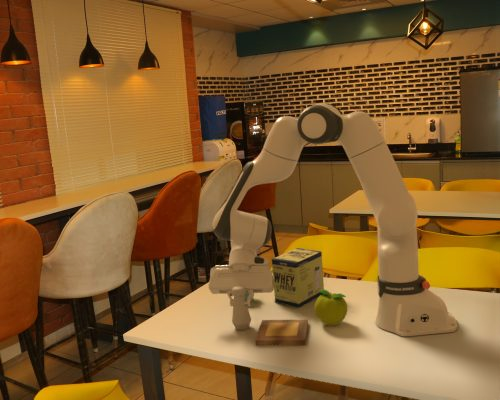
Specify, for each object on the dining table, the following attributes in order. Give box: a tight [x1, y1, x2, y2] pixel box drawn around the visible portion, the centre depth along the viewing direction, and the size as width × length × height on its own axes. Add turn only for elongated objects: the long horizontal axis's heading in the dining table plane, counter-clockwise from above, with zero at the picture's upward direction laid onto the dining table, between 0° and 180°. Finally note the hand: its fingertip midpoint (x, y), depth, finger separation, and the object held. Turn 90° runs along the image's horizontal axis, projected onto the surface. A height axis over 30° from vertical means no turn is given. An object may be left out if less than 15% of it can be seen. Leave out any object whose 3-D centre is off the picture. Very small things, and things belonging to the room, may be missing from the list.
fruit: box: [314, 288, 348, 327], centre depth 153 cm, size 9×9×10 cm
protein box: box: [271, 247, 325, 309], centre depth 176 cm, size 10×16×16 cm
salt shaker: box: [231, 286, 252, 331], centre depth 156 cm, size 6×6×13 cm
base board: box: [254, 318, 309, 346], centre depth 150 cm, size 14×14×2 cm
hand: (239, 305), depth 155 cm, fingers closed on salt shaker, 3 cm apart
